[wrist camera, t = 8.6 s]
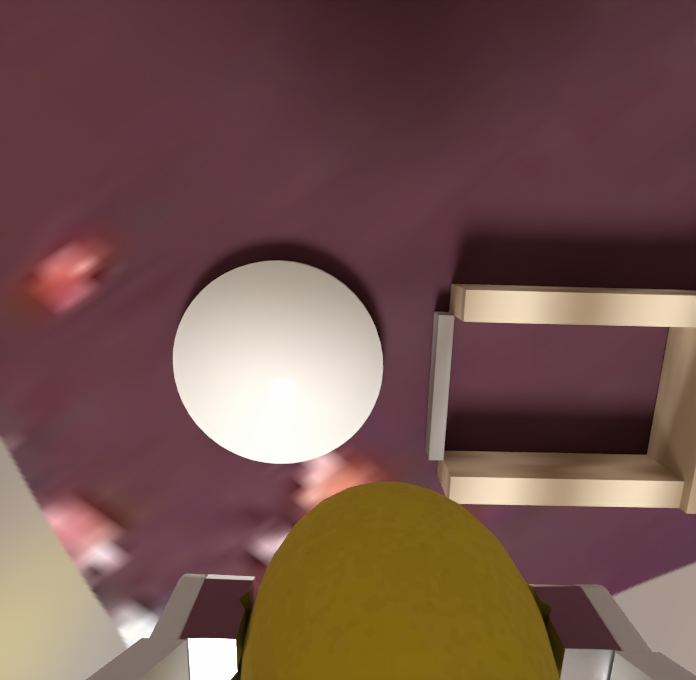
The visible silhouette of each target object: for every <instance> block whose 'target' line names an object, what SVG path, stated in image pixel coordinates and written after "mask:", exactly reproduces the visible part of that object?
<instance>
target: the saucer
mask: <svg viewBox="0 0 696 680" xmlns="http://www.w3.org/2000/svg"><path fill="white" fill-rule="evenodd" d="M173 369H174V377H175V381H176V385H177V389H178V392H179V394H180V397H181V399H182V402H183V404H184V406H185V407H186V409H187V411H188V413H189V414H190V416H191V417H192V419H193V420H194V421H195V423H196V424H197V425H198V426H199V427H200V428H201V429H202V430H203V431H204V432H205V433H206V435H208V436H209V437H210V438H211V439H213V440H214V441H215V442H216V443H218V444H219V445H221V446H222V447H224V448H226V449H227V450H229V451H231V452H233V453H235V454H238V455H240V456H242V457H245V458H248V459H251V460H255V461H260V462H265V463H277V464H282V463H296V462H302V461H307V460H310V459H313V458H317V457H319V456H322V455H324V454H326V453H329V452H330V451H332V450H334V449H336V448H337V447H339V446H341V445H342V444H343V443H344V442H346V441H347V440H348V439H350V438H351V437H352V436H353V435H354V434H355V433H356V432H357V431H358V430H359V429H360V427H361V426H362V425H363V423H364V422H365V421H366V419H367V418H368V416H369V414H370V413H371V411H372V409H373V407H374V405H375V402H376V400H377V397H378V395H379V391H380V387H381V383H382V374H383V355H382V349H381V343H380V339H379V336H378V333H377V330H376V327H375V325H374V322H373V320H372V318H371V316H370V314H369V312H368V311H367V309H366V308H365V306H364V304H363V303H362V302H361V300H360V299H359V298H358V297H357V296H356V294H355V293H354V292H353V291H352V290H351V289H349V288H348V287H347V286H346V285H345V284H344V283H343V282H341V281H340V280H338V279H337V278H336V277H334V276H333V275H331V274H329V273H327V272H325V271H323V270H321V269H319V268H316V267H313V266H311V265H308V264H304V263H299V262H295V261H285V260H270V261H262V262H256V263H251V264H248V265H244V266H241V267H238V268H235V269H233V270H231V271H229V272H227V273H225V274H223V275H221V276H220V277H218V278H217V279H215V280H214V281H212V282H211V283H210V284H208V285H207V286H206V287H205V288H204V289H203V290H202V291H201V292H200V293H199V294H198V295H197V296H196V297H195V299H194V300H193V301H192V302H191V304H190V305H189V307H188V309H187V310H186V312H185V313H184V315H183V318H182V320H181V322H180V324H179V327H178V330H177V334H176V337H175V343H174V349H173Z"/></svg>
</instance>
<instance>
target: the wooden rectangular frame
mask: <svg viewBox="0 0 696 680" xmlns="http://www.w3.org/2000/svg"><path fill="white" fill-rule="evenodd" d="M454 316H456V317H457V318H459V319H460V320H462V321H463V322H499V323H539V324H579V325H619V326H659V327H669V332H668V338H667V343H666V349H665V355H664V360H663V366H662V372H661V377H660V383H659V389H658V394H657V400H656V406H655V411H654V417H653V423H652V428H651V434H650V440H649V445H648V451H647V455H631V454H583V453H535V452H487V451H444V446H445V433H446V420H447V407H448V394H449V381H450V368H451V355H452V341H453V328H454ZM425 451H426V454H427V457H428V459H429V460H438V470H437V475H438V478H439V480H440V483H441V485H442V488H443V490H444V493H445V495H446V497H447V498H449V499H451V500H453V501H455V502H456V503H458V504H504V505H556V506H608V507H661V508H680V509H681V510H683V511H684V512H685V513H690V514H696V290H668V289H630V288H591V287H553V286H515V285H477V284H451V295H450V308H449V312H434V324H433V339H432V353H431V368H430V383H429V398H428V413H427V428H426V443H425Z"/></svg>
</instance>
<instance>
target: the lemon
mask: <svg viewBox="0 0 696 680" xmlns="http://www.w3.org/2000/svg"><path fill="white" fill-rule="evenodd" d="M241 680H560V679H559V675H558V671H557V667H556V663H555V660H554V656H553V652H552V649H551V645H550V641H549V638H548V634H547V631H546V628H545V625H544V622H543V619H542V616H541V613H540V611H539V609H538V606H537V604H536V602H535V599H534V597H533V595H532V593H531V591H530V590H529V588H528V586H527V584H526V582H525V581H524V579H523V577H522V576H521V574H520V573H519V571H518V569H517V568H516V566H515V565H514V563H513V561H512V560H511V558H510V557H509V555H508V553H507V552H506V550H505V549H504V547H503V546H502V544H501V543H500V542H499V541H498V539H497V538H496V537H495V536H494V535H493V534H492V533H491V532H490V531H489V530H488V529H487V528H486V527H485V526H484V525H483V524H482V523H481V522H479V521H478V520H477V519H476V518H475V517H474V516H473V515H472V514H471V513H469V512H468V511H467V510H466V509H465V508H464V507H463V506H461V505H460V504H458V503H456V502H455V501H453V500H451V499H449V498H447V497H445V496H443V495H441V494H439V493H437V492H435V491H433V490H431V489H428V488H424V487H420V486H416V485H412V484H408V483H404V482H372V483H367V484H363V485H358V486H354V487H350V488H347V489H345V490H343V491H341V492H339V493H337V494H335V495H333V496H331V497H329V498H327V499H325V500H323V501H322V502H321V503H319V504H318V505H317V506H316V507H315V508H313V509H312V510H311V511H310V512H309V513H307V514H306V515H305V516H304V517H303V518H301V519H300V520H299V521H298V522H297V523H296V524H295V526H294V527H293V528H292V530H291V531H290V533H289V534H288V536H287V537H286V538H285V540H284V541H283V543H282V544H281V546H280V547H279V549H278V550H277V551H276V553H275V554H274V556H273V558H272V560H271V561H270V563H269V565H268V567H267V570H266V572H265V574H264V577H263V579H262V582H261V585H260V588H259V591H258V594H257V597H256V600H255V603H254V606H253V609H252V612H251V615H250V619H249V622H248V626H247V631H246V635H245V640H244V648H243V656H242V667H241Z"/></svg>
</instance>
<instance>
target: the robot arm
mask: <svg viewBox="0 0 696 680" xmlns="http://www.w3.org/2000/svg"><path fill="white" fill-rule="evenodd" d="M527 586H528V588H529V590H530V591H531V593H532V595H533V597H534V599H535V602H536V604H537V606H538V609H539V611H540V613H541V616H542V619H543V622H544V625H545V628H546V631H547V634H548V638H549V641H550V645H551V649H552V652H553V656H554V660H555V663H556V667H557V671H558V675H559V679H560V680H696V676H695V675H693V674H692V673H690V672H689V671H687V670H686V669H684V668H683V667H681V666H680V665H678V664H677V663H675V662H674V661H672V660H671V659H669V658H668V657H666V656H665V655H663V654H661V653H659V652H652V651H651V650H650V648H649V647H648V646H647V644H646V643H645V641H644V640H643V639H642V637H641V636H640V634H639V633H638V632H637V631H636V629H635V628H634V626H633V625H632V623H631V622H630V621H629V619H628V618H627V617H626V615H625V614H624V612H623V611H622V610H621V608H620V607H619V606H618V604H617V603H616V602H615V600H614V599H613V597H612V596H611V595H610V593H609V592H608V590H607V589H606V588H605V587H603V586H602V585H542V584H527ZM257 594H258V592H257V579H256V577H249V576H230V575H210V574H209V575H202V574H184V575H183V576H182V577H181V578H180V579H179V581H178V583H177V585H176V587H175V589H174V591H173V593H172V595H171V597H170V599H169V601H168V603H167V605H166V607H165V608H164V610H163V612H162V614H161V616H160V618H159V620H158V622H157V624H156V626H155V628H154V630H153V632H152V634H151V636H150V638H142V639H140V640H139V641H138V642H136V643H135V644H133V645H132V646H131V647H129V648H128V649H127V650H126V651H124V652H123V653H121V654H120V655H119V656H117V657H116V658H115V659H113V660H112V661H111V662H109V663H108V664H107V665H105V666H104V667H102V668H101V669H100V670H99V671H97V672H96V673H95V674H93V675H92V676H91V677H89V678H88V679H86V680H241V667H242V656H243V648H244V640H245V635H246V631H247V626H248V622H249V619H250V615H251V612H252V609H253V606H254V603H255V600H256V597H257Z"/></svg>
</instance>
